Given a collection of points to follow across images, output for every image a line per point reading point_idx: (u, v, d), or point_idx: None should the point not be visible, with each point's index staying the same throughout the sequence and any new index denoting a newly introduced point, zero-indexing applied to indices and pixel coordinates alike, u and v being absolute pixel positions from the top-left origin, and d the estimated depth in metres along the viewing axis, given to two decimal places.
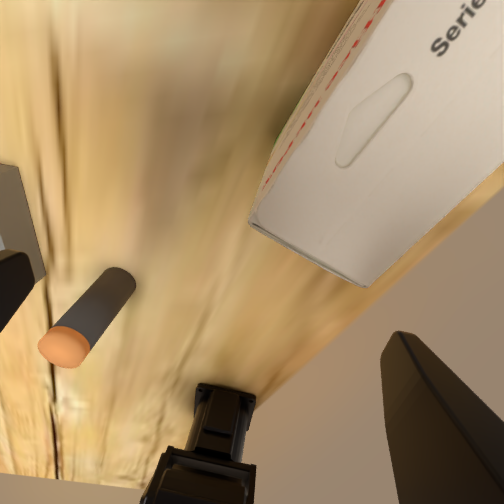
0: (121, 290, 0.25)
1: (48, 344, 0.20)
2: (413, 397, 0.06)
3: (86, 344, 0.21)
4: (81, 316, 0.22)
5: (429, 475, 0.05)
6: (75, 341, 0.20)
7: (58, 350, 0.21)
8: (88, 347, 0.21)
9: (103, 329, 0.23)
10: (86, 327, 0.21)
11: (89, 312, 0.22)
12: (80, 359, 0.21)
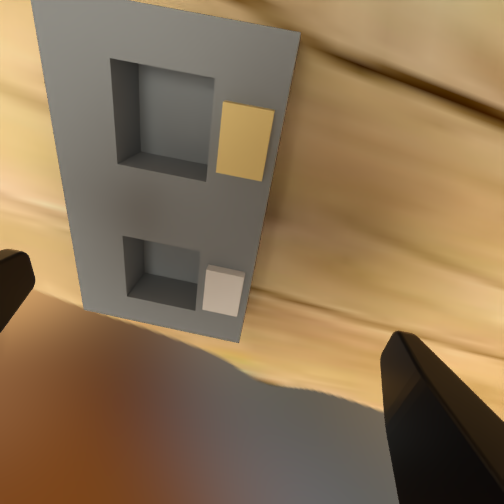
0: None
1: None
2: (413, 397, 0.06)
3: None
4: None
5: (429, 475, 0.05)
6: None
7: None
8: None
9: None
10: None
11: None
12: None
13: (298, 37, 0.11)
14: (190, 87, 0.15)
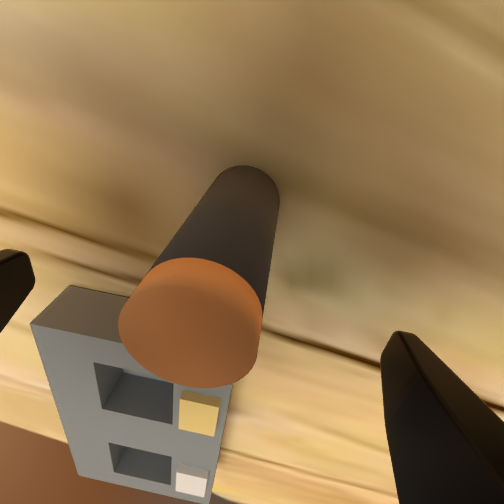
0: (219, 183, 0.11)
1: (155, 355, 0.07)
2: (413, 397, 0.06)
3: (183, 263, 0.06)
4: None
5: (429, 475, 0.05)
6: (144, 284, 0.06)
7: (173, 341, 0.07)
8: (200, 262, 0.06)
9: (226, 225, 0.08)
10: (164, 253, 0.07)
11: None
12: (199, 293, 0.06)
13: None
14: None
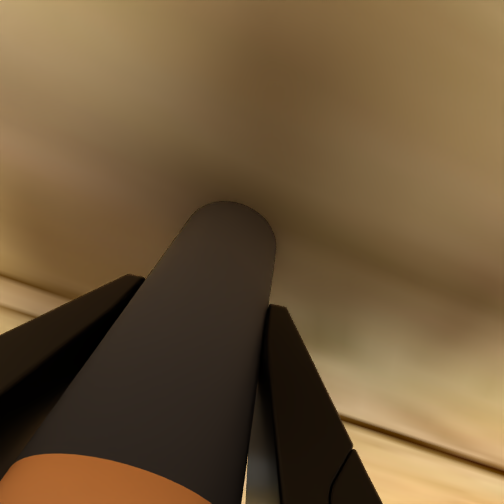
0: (187, 234, 0.08)
1: None
2: (261, 364, 0.06)
3: (64, 476, 0.03)
4: None
5: (257, 436, 0.05)
6: None
7: None
8: (99, 475, 0.03)
9: (179, 338, 0.05)
10: (55, 410, 0.04)
11: None
12: None
13: None
14: None
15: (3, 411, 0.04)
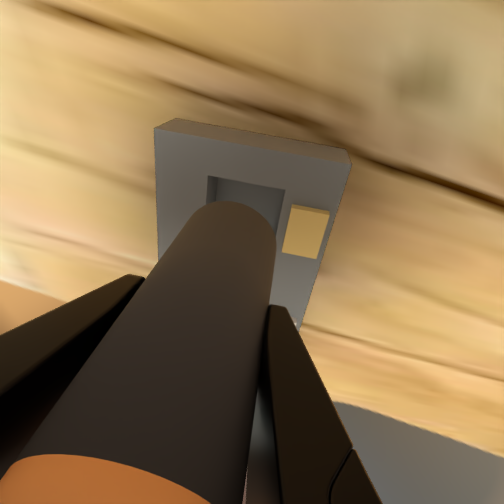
0: (187, 234, 0.08)
1: None
2: (261, 364, 0.06)
3: (63, 476, 0.03)
4: None
5: (257, 436, 0.05)
6: None
7: None
8: (99, 476, 0.03)
9: (179, 338, 0.05)
10: (56, 410, 0.04)
11: None
12: None
13: (350, 167, 0.15)
14: None
15: (3, 411, 0.04)
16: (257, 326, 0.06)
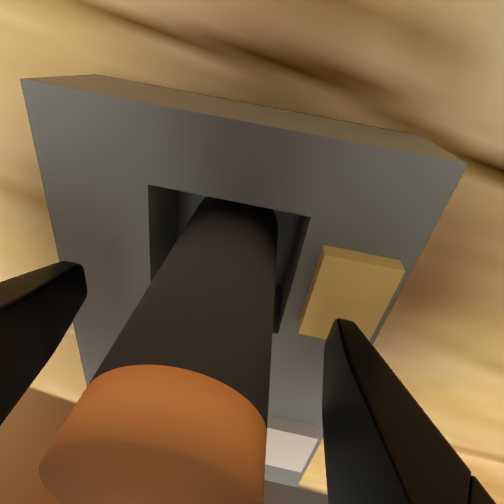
0: (202, 215, 0.09)
1: None
2: (341, 381, 0.06)
3: (142, 377, 0.04)
4: None
5: (347, 457, 0.05)
6: (77, 417, 0.04)
7: (130, 497, 0.04)
8: (169, 376, 0.04)
9: (211, 290, 0.06)
10: (118, 343, 0.05)
11: None
12: (164, 450, 0.03)
13: (462, 170, 0.07)
14: None
15: None
16: (269, 288, 0.07)
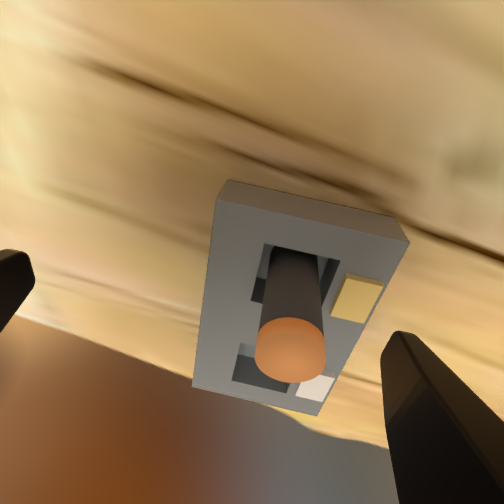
0: (284, 255, 0.18)
1: (270, 366, 0.13)
2: (413, 397, 0.06)
3: (289, 320, 0.13)
4: (262, 311, 0.15)
5: (429, 475, 0.05)
6: (271, 331, 0.13)
7: (283, 359, 0.13)
8: (297, 320, 0.13)
9: (301, 293, 0.15)
10: (272, 311, 0.14)
11: (266, 300, 0.15)
12: (302, 338, 0.12)
13: (407, 245, 0.16)
14: None
15: None
16: (319, 293, 0.16)
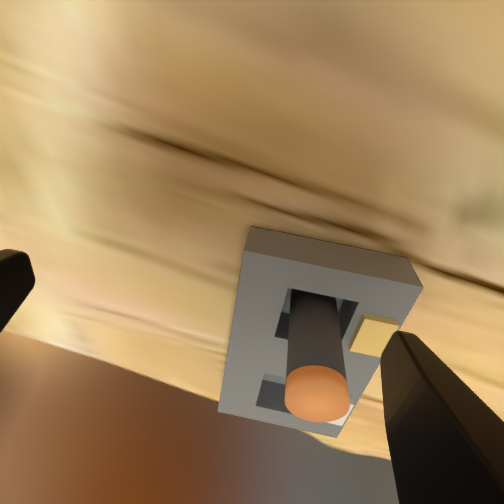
0: (305, 296, 0.19)
1: (299, 408, 0.15)
2: (413, 397, 0.06)
3: (315, 369, 0.15)
4: (289, 355, 0.16)
5: (429, 475, 0.05)
6: (299, 379, 0.14)
7: (310, 403, 0.15)
8: (323, 368, 0.15)
9: (325, 339, 0.16)
10: (299, 357, 0.15)
11: (292, 344, 0.17)
12: (329, 387, 0.14)
13: (421, 289, 0.17)
14: None
15: None
16: (340, 334, 0.17)
